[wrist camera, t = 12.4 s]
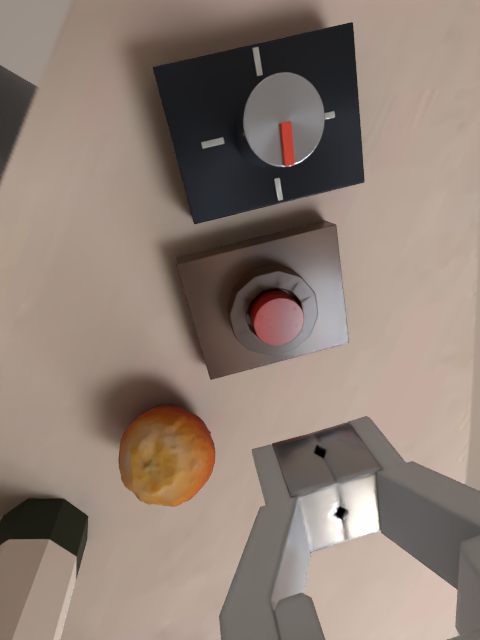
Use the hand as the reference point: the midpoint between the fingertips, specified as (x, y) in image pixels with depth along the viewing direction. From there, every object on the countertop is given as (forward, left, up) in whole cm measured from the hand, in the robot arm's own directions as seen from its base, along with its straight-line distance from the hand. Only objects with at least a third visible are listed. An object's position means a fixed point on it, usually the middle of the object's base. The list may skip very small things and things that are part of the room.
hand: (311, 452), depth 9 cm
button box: (+2, -4, -21) cm, 22 cm away
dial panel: (+4, +8, -21) cm, 23 cm away
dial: (+4, +8, -18) cm, 20 cm away
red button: (+2, -4, -18) cm, 18 cm away
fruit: (-9, -14, -21) cm, 27 cm away
